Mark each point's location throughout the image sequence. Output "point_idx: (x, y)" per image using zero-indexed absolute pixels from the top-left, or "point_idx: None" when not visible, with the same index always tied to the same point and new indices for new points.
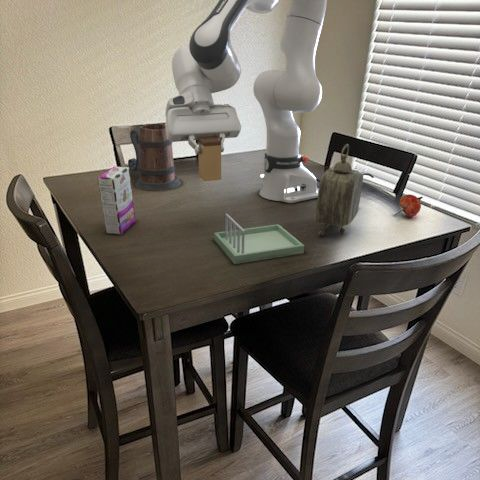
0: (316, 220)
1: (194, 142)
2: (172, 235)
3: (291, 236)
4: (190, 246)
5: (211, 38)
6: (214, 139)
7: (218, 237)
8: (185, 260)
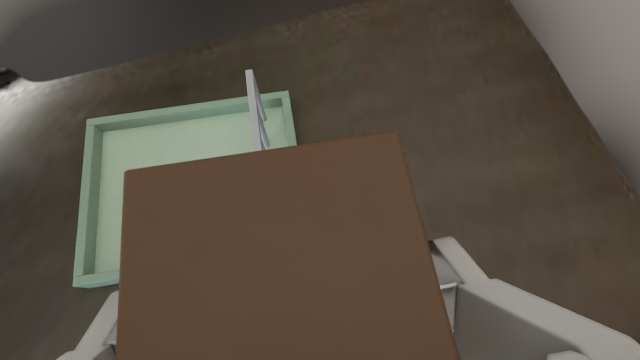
0: None
1: (520, 305)
2: None
3: (87, 179)
4: None
5: None
6: (192, 291)
7: None
8: (406, 140)
